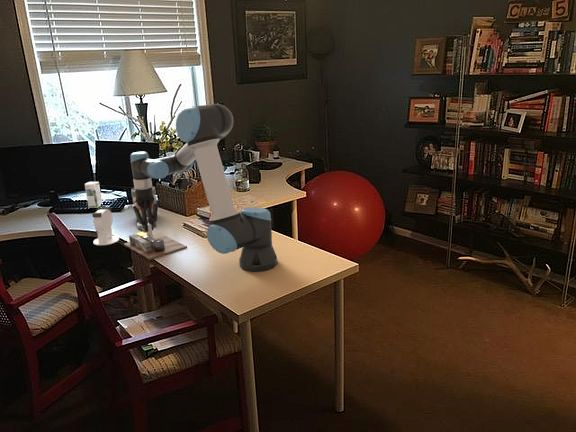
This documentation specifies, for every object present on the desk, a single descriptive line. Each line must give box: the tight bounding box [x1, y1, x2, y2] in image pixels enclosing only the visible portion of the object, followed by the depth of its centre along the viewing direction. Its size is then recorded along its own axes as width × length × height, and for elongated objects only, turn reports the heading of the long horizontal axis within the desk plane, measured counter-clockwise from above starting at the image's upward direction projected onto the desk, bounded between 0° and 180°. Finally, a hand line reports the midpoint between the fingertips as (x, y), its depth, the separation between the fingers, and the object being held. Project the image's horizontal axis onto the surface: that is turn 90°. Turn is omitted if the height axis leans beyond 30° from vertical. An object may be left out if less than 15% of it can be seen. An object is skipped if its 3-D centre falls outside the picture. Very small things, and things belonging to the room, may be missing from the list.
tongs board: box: [123, 232, 188, 261], centre depth 215 cm, size 24×18×4 cm
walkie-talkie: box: [136, 217, 157, 233], centre depth 241 cm, size 9×4×20 cm
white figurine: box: [91, 206, 120, 246], centre depth 223 cm, size 12×11×15 cm
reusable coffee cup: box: [130, 185, 157, 217], centre depth 255 cm, size 13×13×15 cm
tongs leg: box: [135, 231, 165, 252], centre depth 215 cm, size 20×4×4 cm, turn 43°
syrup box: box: [84, 181, 103, 209], centre depth 274 cm, size 6×6×14 cm
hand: (150, 237), depth 220 cm, fingers closed
